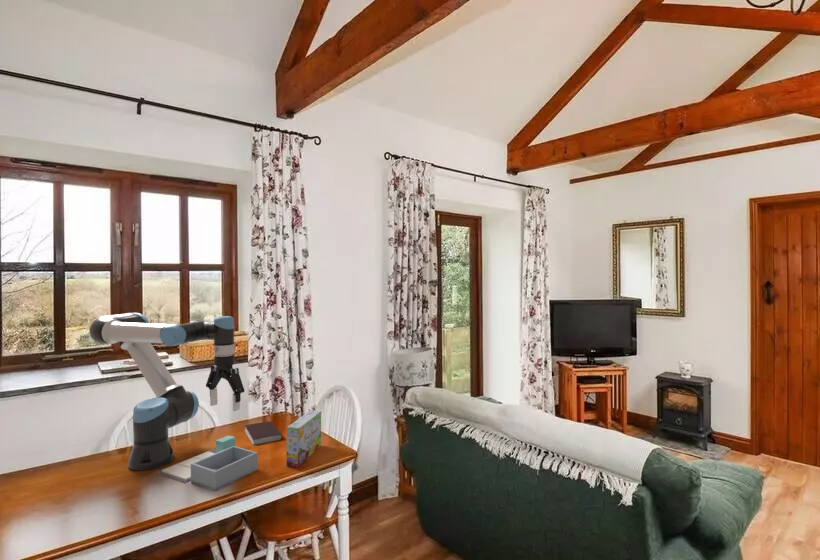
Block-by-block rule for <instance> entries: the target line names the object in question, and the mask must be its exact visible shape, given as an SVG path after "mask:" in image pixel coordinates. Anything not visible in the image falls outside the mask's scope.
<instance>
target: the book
mask: <svg viewBox="0 0 820 560" xmlns="http://www.w3.org/2000/svg"><path fill="white" fill-rule="evenodd" d="M244 433H245V435H246V436H247V437H248V438H249V440H250V442H251V443H252V446H255V445H259V444H266V443H270V442H274V441H279V440H282V439H283V434H282V433H281V431H280V430H279V429H278V428H277V426H276V425H275V424H274V423H273V421H270V420H269V421H262V422H256V423H250V424H246V425H244Z"/></svg>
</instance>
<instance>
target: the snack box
mask: <svg viewBox="0 0 820 560" xmlns="http://www.w3.org/2000/svg"><path fill="white" fill-rule="evenodd" d="M321 446H322V410H308V412H306V413H304V414H303V415H302V416H301V417H299V418H298V419H297V420H295V421H294V422H293V423H292V422H291V424H289V425H288V426H287V427H286V463H285V464H286V465H285V466H286V467H295V468H299V467H300V466H301V465H303V463H304V462H305V461H306V460H307V459H308V458H310V457H311V456H312V455H313V454H314V453H315V452H316V451H317V450H318V449H319V448H320V447H321Z"/></svg>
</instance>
